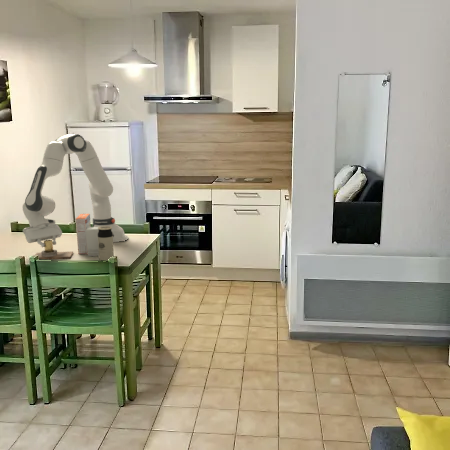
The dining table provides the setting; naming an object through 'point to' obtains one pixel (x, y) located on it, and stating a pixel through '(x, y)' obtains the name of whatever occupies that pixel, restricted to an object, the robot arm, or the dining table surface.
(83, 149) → the robot arm
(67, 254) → the coupling base
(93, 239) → the skincare box
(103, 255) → the travel mug
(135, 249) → the dining table surface
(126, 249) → the dining table surface
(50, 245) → the cylinder
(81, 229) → the cracker box
